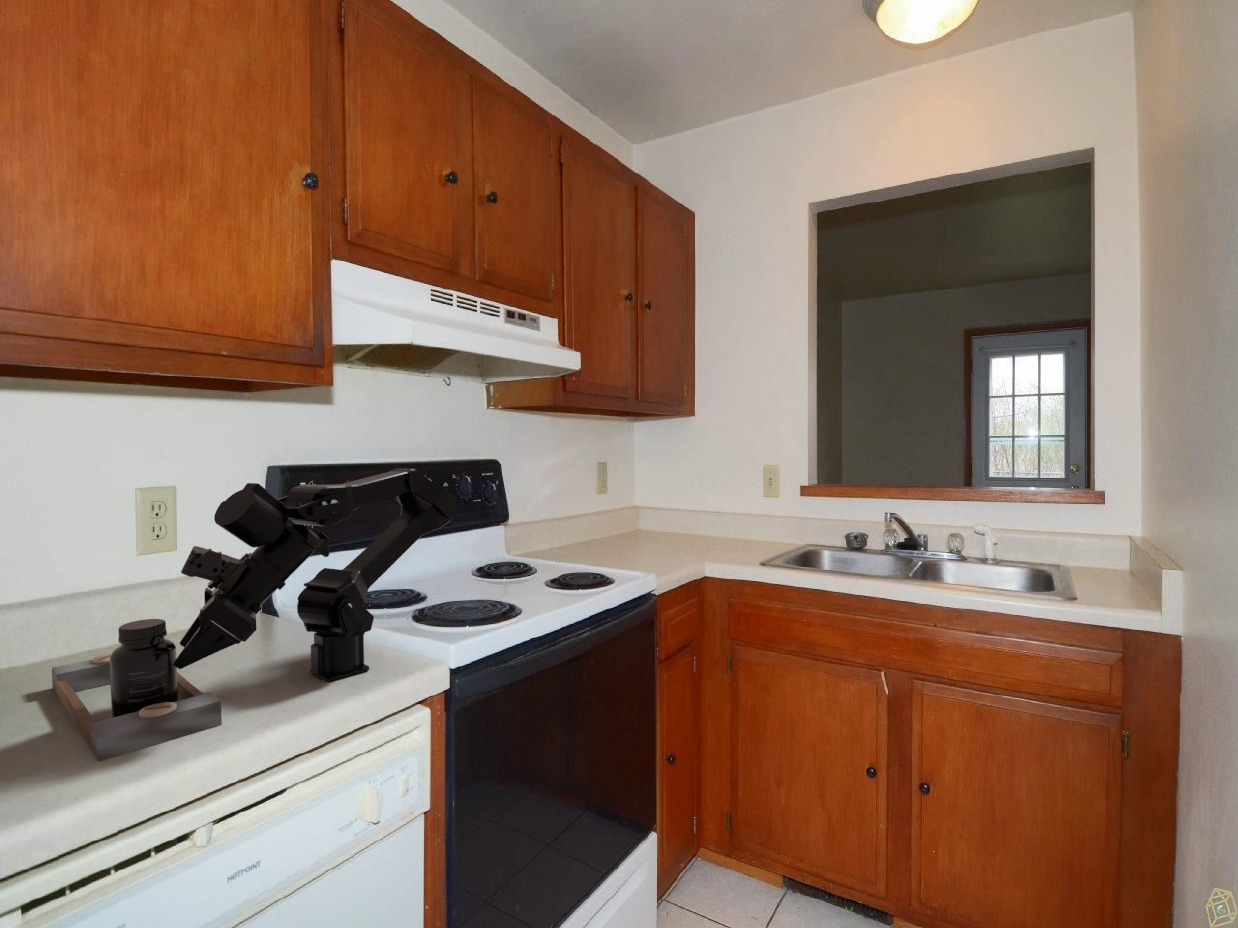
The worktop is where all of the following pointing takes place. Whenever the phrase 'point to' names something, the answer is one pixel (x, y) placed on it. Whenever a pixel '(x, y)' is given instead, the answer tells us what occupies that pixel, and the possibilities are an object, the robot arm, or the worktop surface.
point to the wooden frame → (133, 727)
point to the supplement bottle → (142, 667)
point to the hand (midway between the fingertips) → (179, 655)
